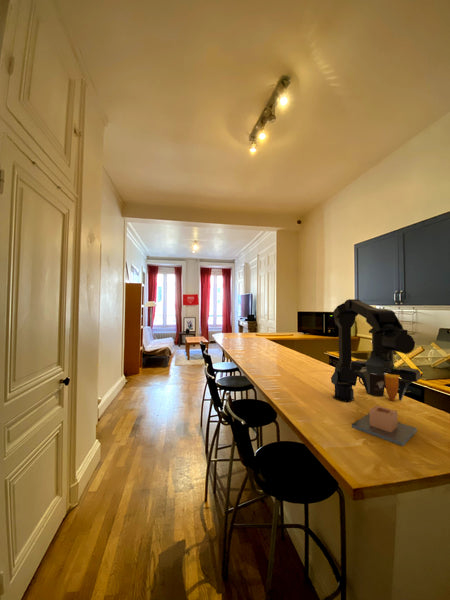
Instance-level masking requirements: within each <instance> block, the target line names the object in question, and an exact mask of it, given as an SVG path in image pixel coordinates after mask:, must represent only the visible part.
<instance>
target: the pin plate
mask: <svg viewBox="0 0 450 600" xmlns="http://www.w3.org/2000/svg"><path fill="white" fill-rule="evenodd" d="M384 413H385V412H384ZM397 424H398V427H397V428H396V429H394V430H393V431H392V432H388V431H385V430H382V429H379V428H376V427H373V426H370V415H369V413H367V414H366V415H364V416H363V417H361V418H360V419H358V420H356V421H355V422H353V423H351V428H353V429H355V430H358V431H360V432H364V433H366V434H369V435H371V436H374V437H376V438H380V439H383V440H385V441H387V442H390V443H393V444H396V445H398V446H402V447H404V446H405V444H407V443H408V441H409V440H410V439H411V438H412V437H414V435H415V434H416V433H417V431H418V430H417V429H418V428H417V427H415V426H412V425H409V424H406V423H402V422H399V421H397Z"/></svg>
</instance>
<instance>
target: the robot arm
mask: <svg viewBox="0 0 450 600" xmlns="http://www.w3.org/2000/svg"><path fill="white" fill-rule="evenodd" d="M332 315H333V318H334V320H333V321H334V323H335V325H336V326H337V327H338V362H337V363H336V364H335V367H334V372H333V374H332V375H331V377H330V379H331V381H330V382H331V384H332V385H334V396H332V398H333V399H335V400H339V401H341V402H345V403H349V402H352V401H353V400H355V397H354V394H355V393H354V389H353V387H355V386H357V381H358V376H359V377H361V378H360V380H361V382H362V384H364V386H363V387H364V389H365V392H366V393H367V394H368V393H369V391H370V374H371V373H373V374H377V375H384V373H386V374H388V373H389V374H394V375H397V376H399V377H400V378H399V384H398V401H400V402H401V401H402V400H403V397H404V395H405V394H406V391H407V390H408V389H407V388H408V387H409V386H410V384H412V383H414V382H418V381H420V380H421V379H422V374H421V371H420V370H419V368H418V369H417V368H411V367H405V366H404V367H403V368H400V369H399V368H396V369H394V368H393V367H394V366H395V363H394V355H395V352H397V353H400V354H409V353H411V352H412V351H413V350H414V349H415V346H416V342H415V340H414V338H413V336H411V335H410V334H408V330H407V329H404V327H403V325H402V324H401V321H400V320H399V318H398V317H397V315H396V313H395V312H394V310H391V309H385V308H377V307H374V306H373V305H372V306H371V305H370V304H367V303H366V302H363V301H362V300H360V299H358V298H357V299H354V298H352V299H351V298H350V299H346V300H345V301H344V302H343V303H341V304H338V305H337V306H336V307H335V309H334V310H333V313H332ZM358 315H359V316H361V317H363V318H364V319H365V322H366V323H367V324H368V325H369V326H370V327H371V328H370V329H369V330H368V333H369V334H371V342H372V343H371V346H372V347H371V348H372V349H371V351H370V356H369V358H368V359H367V360H359V359H357V360H353V361H352V328H353V326H354V324H355V323H356V317H357V316H358Z"/></svg>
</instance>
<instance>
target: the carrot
mask: <svg viewBox="0 0 450 600" xmlns="http://www.w3.org/2000/svg"><path fill="white" fill-rule="evenodd" d="M393 368H394V369H397V366H396V365H394V367H393ZM399 380H400V378H399V375H394V374H389V373H386V374H385V390H386V394H387V395H388V396H387V397H388V398H389V400H390V401H391V402H393V401H395V399H396V397H397V395H398V393H399V385H400V384H399Z"/></svg>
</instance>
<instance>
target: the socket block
mask: <svg viewBox="0 0 450 600" xmlns="http://www.w3.org/2000/svg"><path fill="white" fill-rule="evenodd" d="M368 412H369V413H368V414H369V415H370V426H373V427H376V428H379V429H382V430H385V431H388V432H392V431H393V430H394V429H396V428H397V427H398V424H397V422H398V410H394V409H391V408H387V407H383V406H380V405H377V404H376V405H375V406H373V407H371V408H369V411H368ZM384 412H385V413H384Z"/></svg>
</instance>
